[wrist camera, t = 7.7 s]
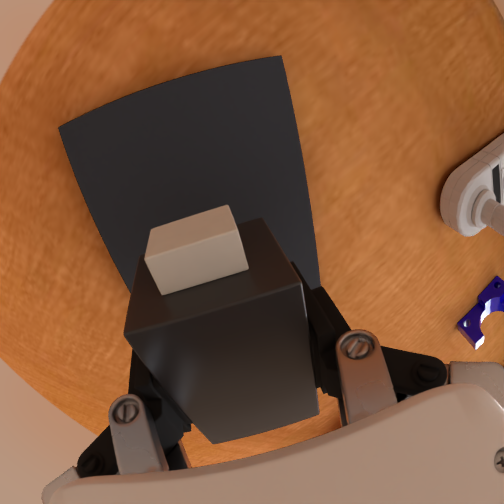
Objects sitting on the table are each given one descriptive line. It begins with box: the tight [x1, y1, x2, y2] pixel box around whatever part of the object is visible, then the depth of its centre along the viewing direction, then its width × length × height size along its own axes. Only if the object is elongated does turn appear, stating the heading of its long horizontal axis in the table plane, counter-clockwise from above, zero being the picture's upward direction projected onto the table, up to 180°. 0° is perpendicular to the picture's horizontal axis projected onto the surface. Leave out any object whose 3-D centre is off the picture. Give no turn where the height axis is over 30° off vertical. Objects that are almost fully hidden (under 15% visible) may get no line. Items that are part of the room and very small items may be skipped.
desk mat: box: [58, 56, 321, 293], centre depth 17 cm, size 18×12×1 cm, turn 13°
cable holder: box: [457, 276, 504, 350], centre depth 27 cm, size 8×4×4 cm, turn 129°
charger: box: [124, 205, 319, 444], centre depth 10 cm, size 8×4×4 cm, turn 13°
